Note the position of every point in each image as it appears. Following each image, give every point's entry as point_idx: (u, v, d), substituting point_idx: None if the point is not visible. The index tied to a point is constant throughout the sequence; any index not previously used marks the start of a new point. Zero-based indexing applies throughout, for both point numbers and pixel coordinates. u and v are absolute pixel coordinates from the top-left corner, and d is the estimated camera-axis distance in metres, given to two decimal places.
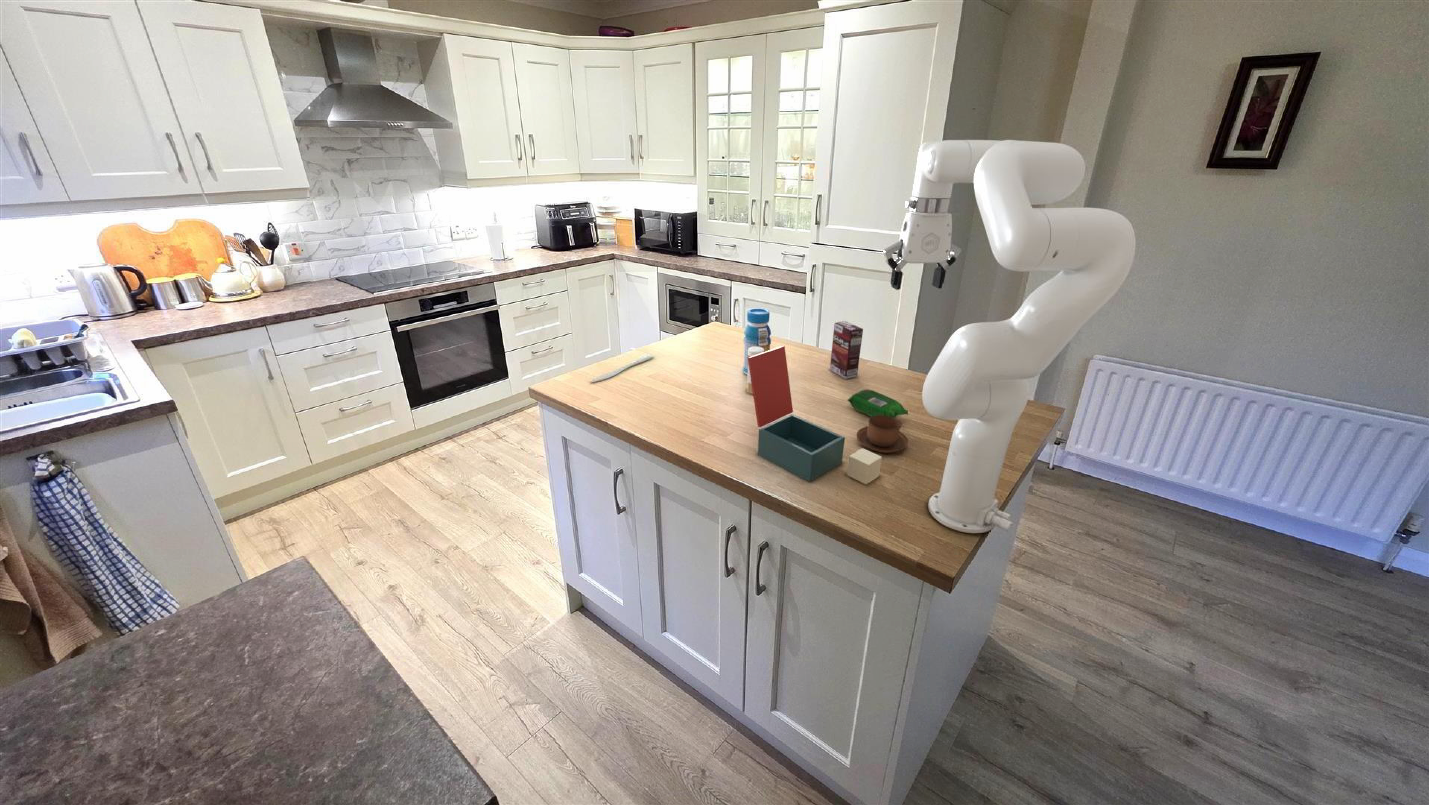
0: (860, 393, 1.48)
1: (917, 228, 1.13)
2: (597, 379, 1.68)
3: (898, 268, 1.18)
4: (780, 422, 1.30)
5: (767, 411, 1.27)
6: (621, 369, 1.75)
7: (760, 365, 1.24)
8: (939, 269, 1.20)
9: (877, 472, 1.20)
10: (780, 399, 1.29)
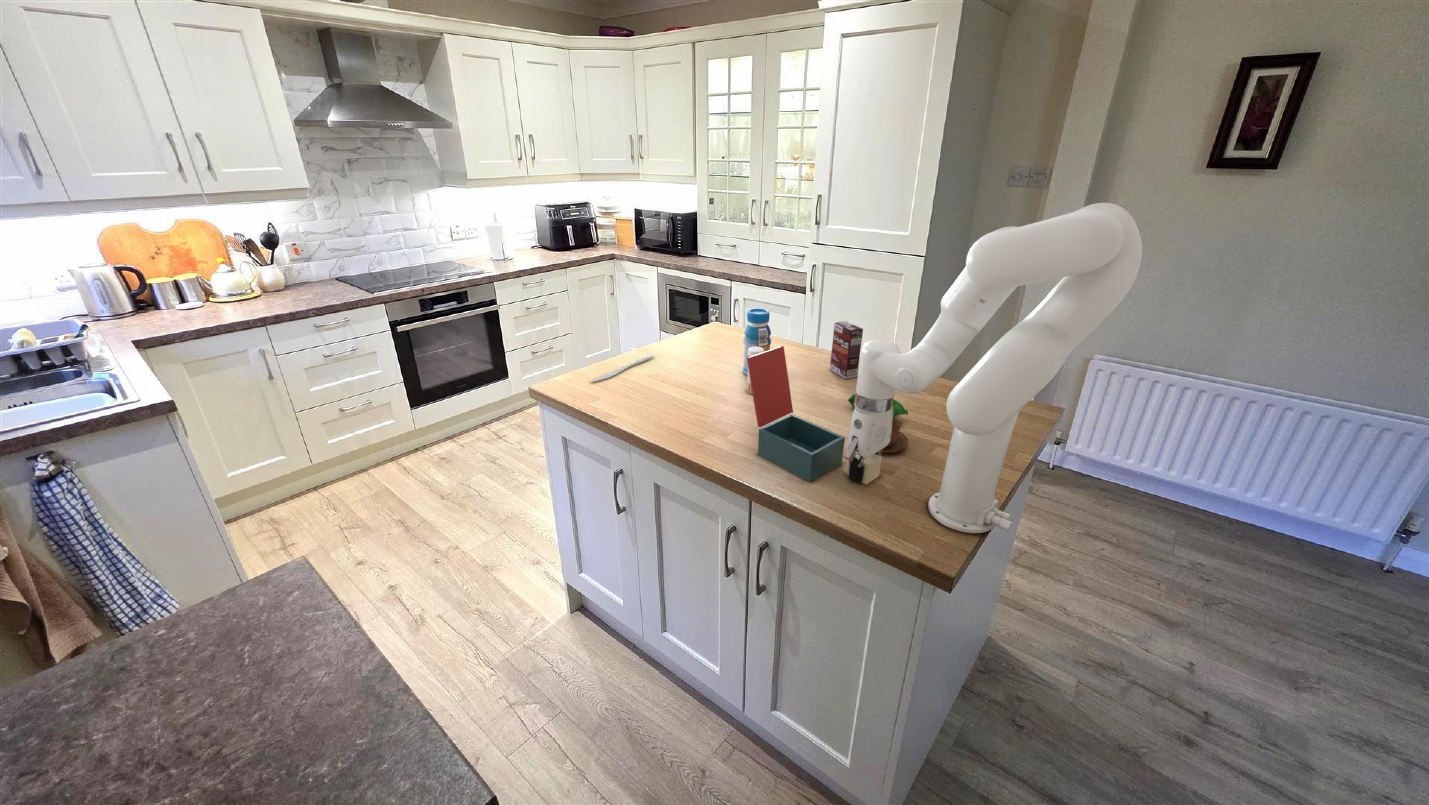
0: None
1: (872, 427, 1.11)
2: (597, 379, 1.68)
3: (861, 464, 1.16)
4: (780, 422, 1.30)
5: (767, 411, 1.27)
6: (621, 369, 1.75)
7: (759, 365, 1.24)
8: None
9: (877, 472, 1.20)
10: (780, 399, 1.29)
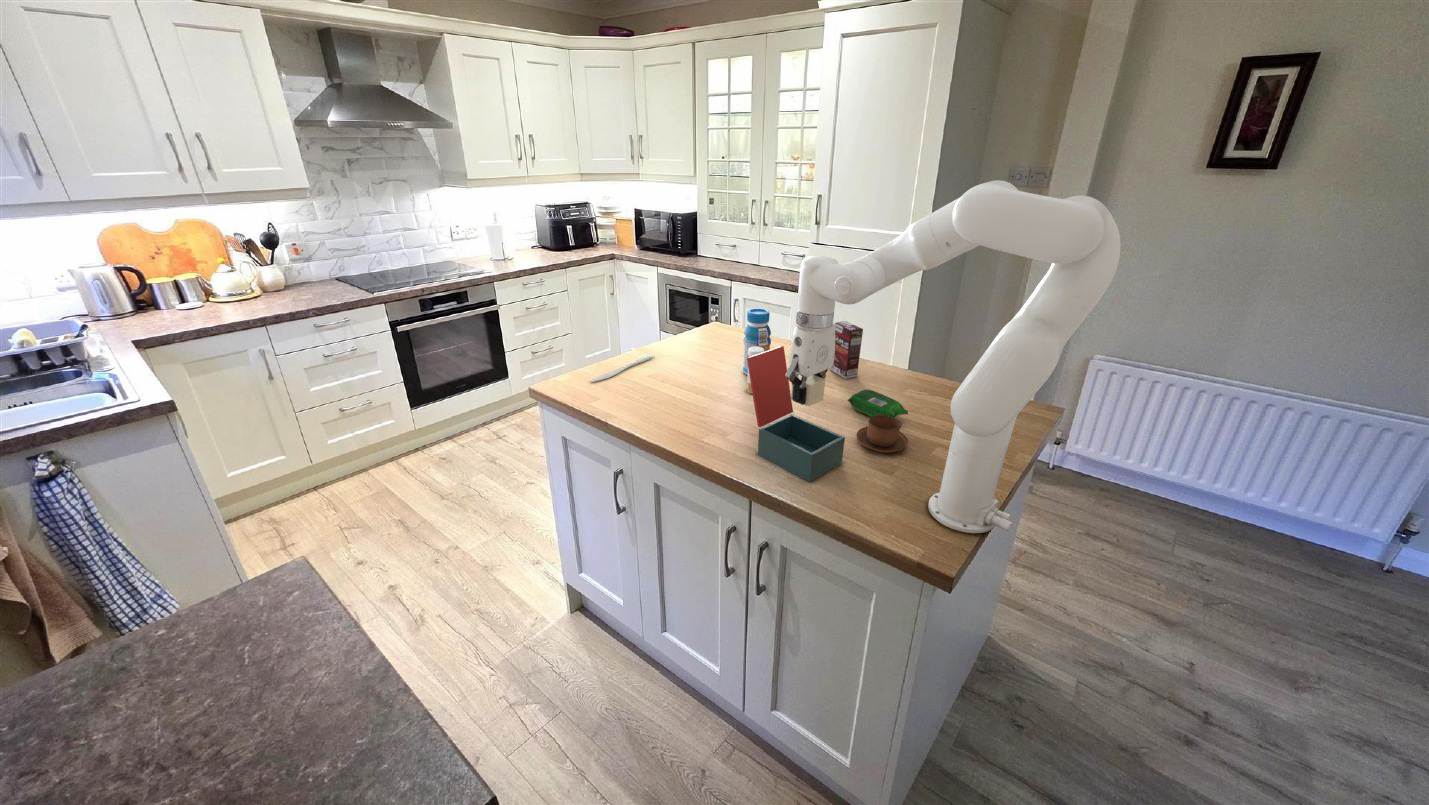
0: (860, 393, 1.48)
1: (812, 344, 1.10)
2: (597, 379, 1.68)
3: (802, 385, 1.15)
4: (780, 422, 1.30)
5: (767, 411, 1.27)
6: (621, 369, 1.75)
7: (759, 365, 1.24)
8: None
9: (821, 395, 1.19)
10: (780, 399, 1.29)
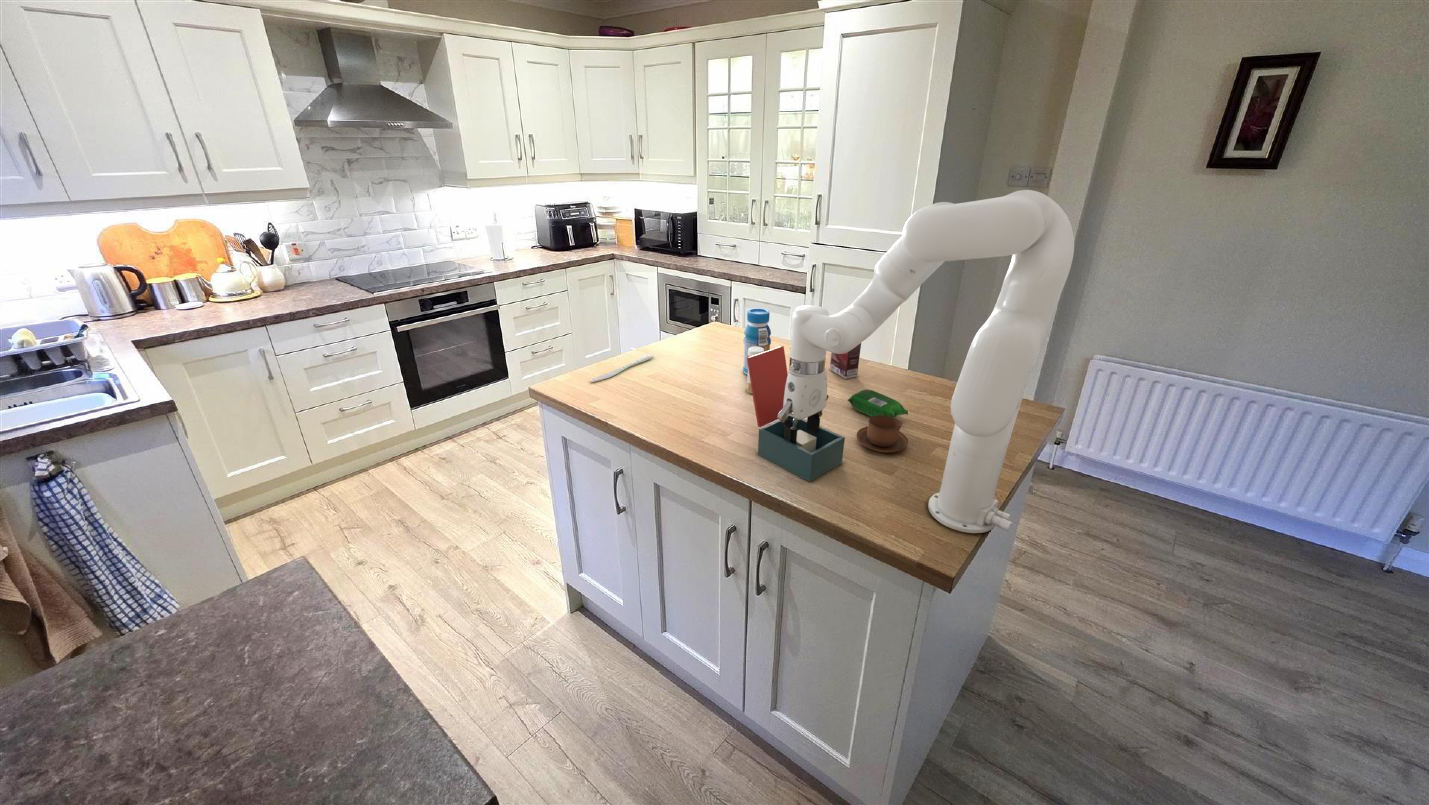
0: (860, 393, 1.48)
1: (805, 389, 1.15)
2: (597, 379, 1.68)
3: (793, 427, 1.19)
4: (780, 422, 1.30)
5: (767, 411, 1.27)
6: (621, 369, 1.75)
7: (759, 365, 1.24)
8: (814, 416, 1.25)
9: None
10: (780, 399, 1.29)
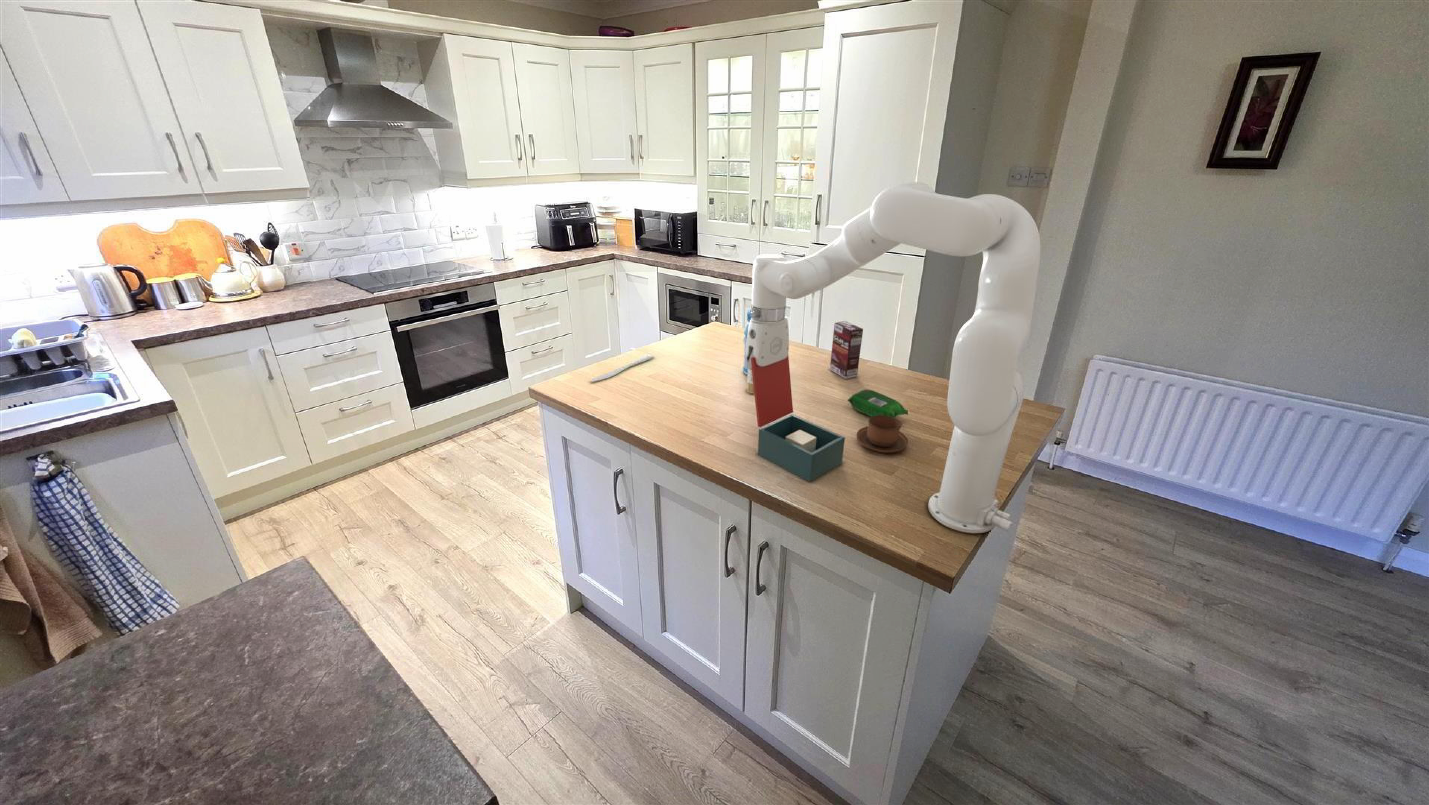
0: (860, 393, 1.48)
1: (765, 336, 1.19)
2: (597, 379, 1.68)
3: None
4: (780, 422, 1.30)
5: (768, 411, 1.27)
6: (621, 369, 1.75)
7: None
8: None
9: None
10: (781, 399, 1.29)
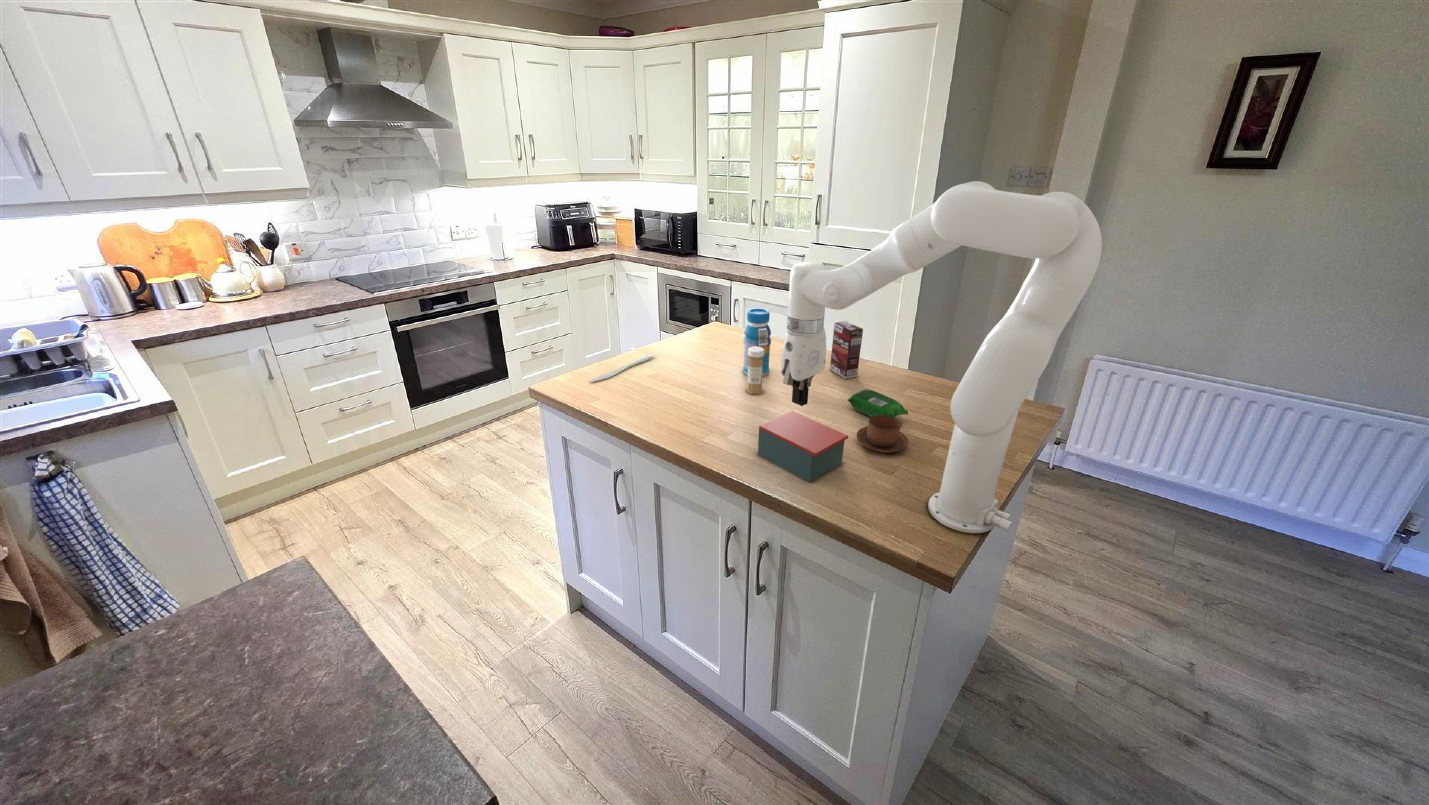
0: (860, 393, 1.48)
1: (803, 349, 1.12)
2: (597, 379, 1.68)
3: (801, 387, 1.19)
4: None
5: None
6: (621, 369, 1.75)
7: None
8: None
9: None
10: None
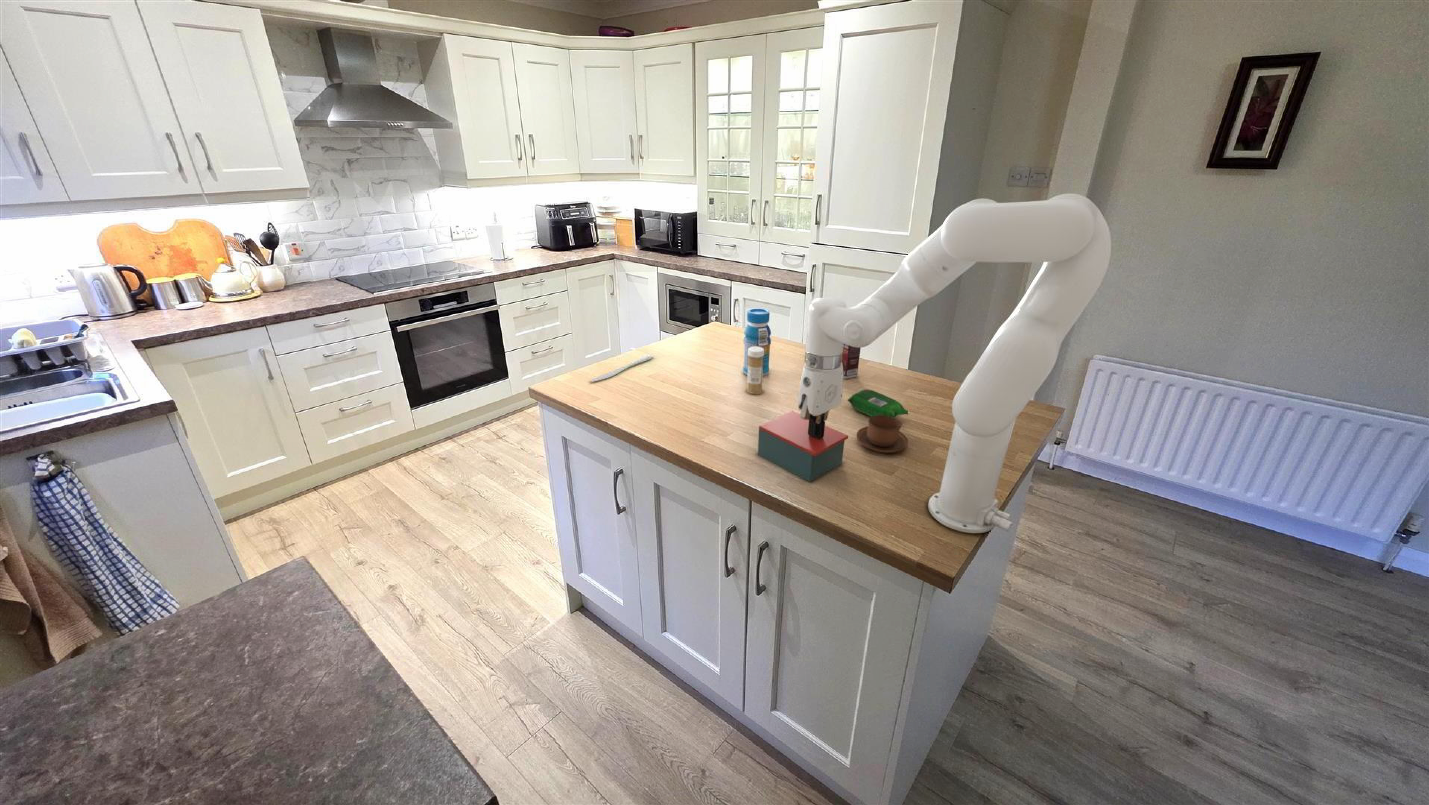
0: (860, 393, 1.48)
1: (821, 384, 1.11)
2: (597, 379, 1.68)
3: (818, 420, 1.18)
4: None
5: None
6: (621, 369, 1.75)
7: None
8: None
9: None
10: None
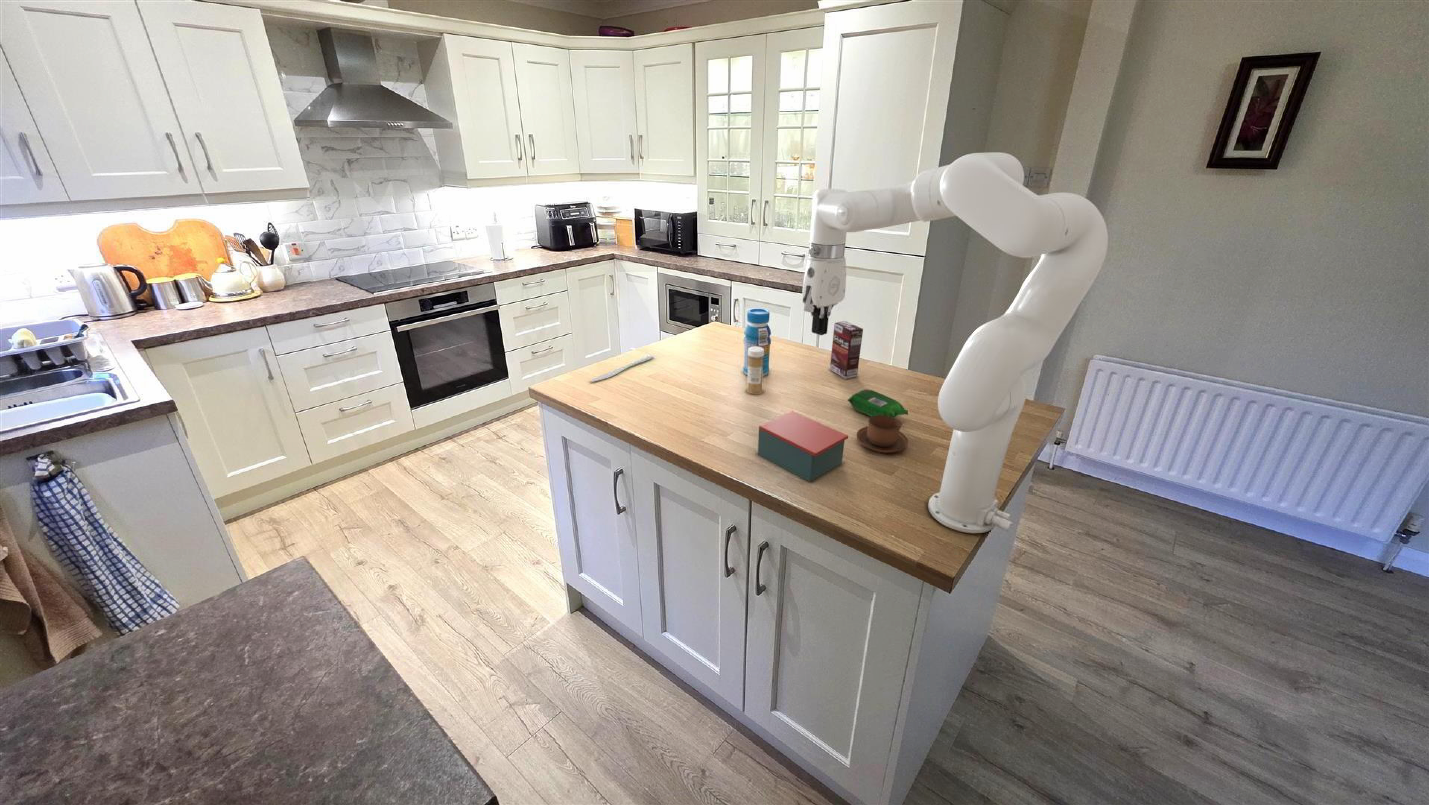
0: (860, 393, 1.48)
1: (825, 274, 1.15)
2: (597, 379, 1.68)
3: (822, 315, 1.21)
4: None
5: None
6: (621, 369, 1.75)
7: None
8: None
9: None
10: None
